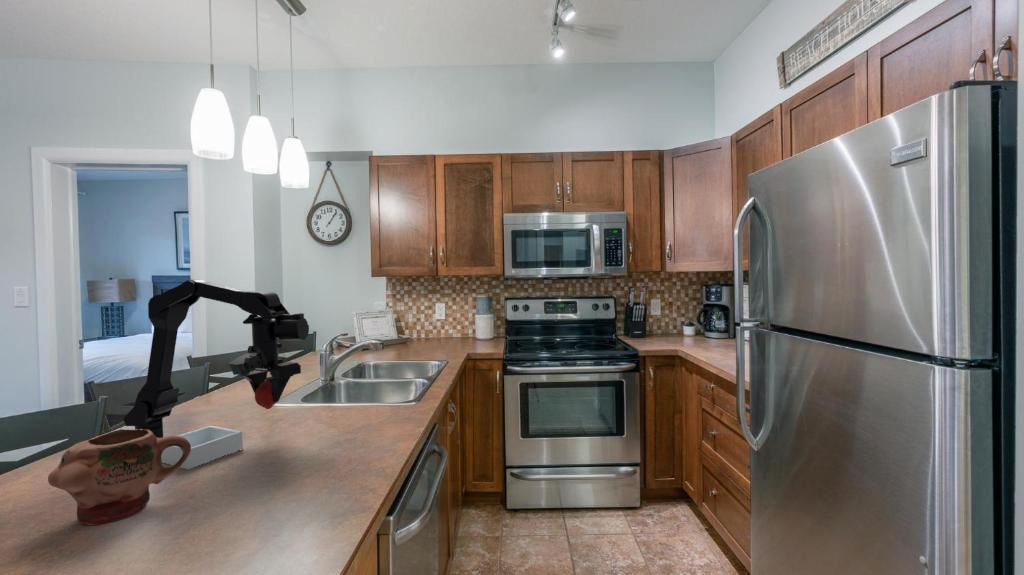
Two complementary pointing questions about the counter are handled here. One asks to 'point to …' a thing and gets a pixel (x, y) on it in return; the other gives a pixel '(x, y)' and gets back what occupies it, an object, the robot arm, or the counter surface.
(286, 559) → the counter surface
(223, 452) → the bin
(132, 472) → the tan novelty mug
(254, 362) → the robot arm
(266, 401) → the onion
